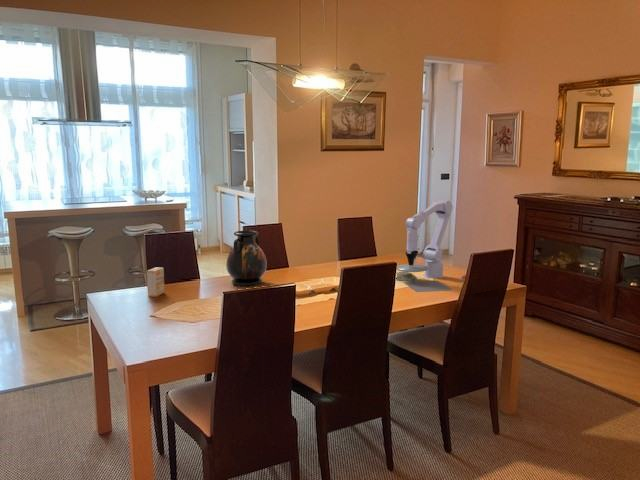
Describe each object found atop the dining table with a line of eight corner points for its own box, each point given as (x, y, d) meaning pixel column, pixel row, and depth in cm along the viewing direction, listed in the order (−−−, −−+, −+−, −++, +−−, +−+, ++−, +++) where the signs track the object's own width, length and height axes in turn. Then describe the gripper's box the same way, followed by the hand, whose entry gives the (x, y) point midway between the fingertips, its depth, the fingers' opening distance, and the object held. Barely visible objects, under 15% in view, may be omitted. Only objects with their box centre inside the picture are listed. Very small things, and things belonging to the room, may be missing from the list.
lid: (400, 264, 291) (400, 254, 290) (430, 266, 285) (430, 256, 284) (392, 271, 275) (392, 260, 275) (424, 272, 269) (424, 262, 268)
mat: (437, 281, 281) (437, 280, 281) (453, 290, 261) (453, 290, 261) (402, 283, 277) (402, 282, 277) (416, 292, 258) (416, 291, 258)
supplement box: (156, 297, 248) (155, 270, 246) (147, 296, 249) (146, 270, 247) (165, 292, 256) (164, 267, 254) (156, 292, 257) (155, 266, 255)
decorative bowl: (422, 279, 288) (398, 275, 297) (422, 272, 287) (399, 268, 296) (409, 284, 276) (385, 280, 285) (410, 278, 276) (385, 273, 284)
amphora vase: (249, 290, 261) (248, 236, 256) (218, 285, 272) (216, 232, 267) (275, 281, 279) (274, 231, 274) (244, 277, 290) (243, 228, 286)
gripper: (416, 242, 269) (416, 267, 272) (422, 238, 283) (421, 262, 285) (403, 241, 272) (402, 266, 274) (409, 237, 285) (408, 261, 287)
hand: (411, 264), depth 280 cm, fingers closed on lid, 3 cm apart
